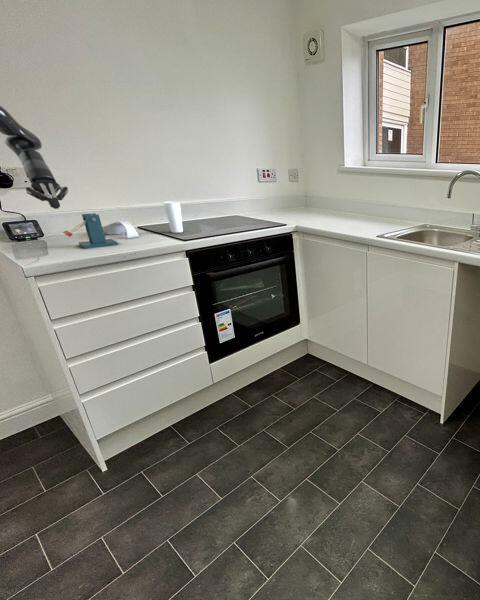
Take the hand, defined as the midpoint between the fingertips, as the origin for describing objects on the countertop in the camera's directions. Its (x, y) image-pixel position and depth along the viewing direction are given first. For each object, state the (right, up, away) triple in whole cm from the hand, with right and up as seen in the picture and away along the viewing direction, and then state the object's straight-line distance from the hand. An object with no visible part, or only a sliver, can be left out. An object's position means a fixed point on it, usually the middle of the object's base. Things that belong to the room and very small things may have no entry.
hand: (56, 207), depth 140 cm
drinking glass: (+23, -3, +39) cm, 46 cm away
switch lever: (+8, -7, +4) cm, 11 cm away
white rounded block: (+3, -6, +29) cm, 29 cm away
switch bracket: (+9, -14, +9) cm, 19 cm away
